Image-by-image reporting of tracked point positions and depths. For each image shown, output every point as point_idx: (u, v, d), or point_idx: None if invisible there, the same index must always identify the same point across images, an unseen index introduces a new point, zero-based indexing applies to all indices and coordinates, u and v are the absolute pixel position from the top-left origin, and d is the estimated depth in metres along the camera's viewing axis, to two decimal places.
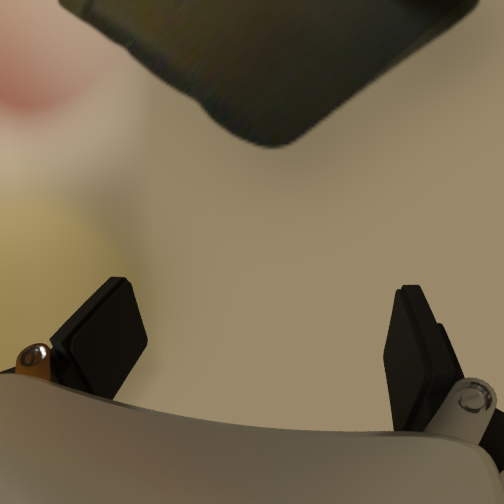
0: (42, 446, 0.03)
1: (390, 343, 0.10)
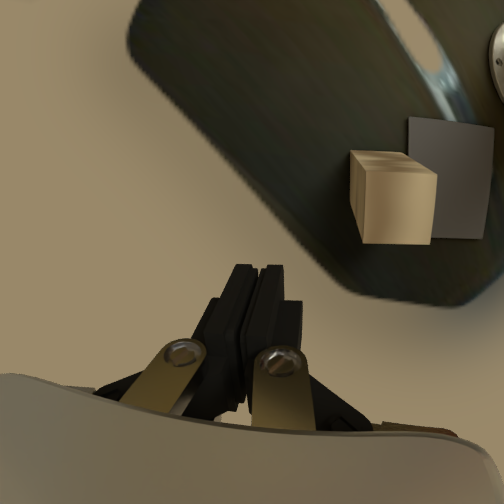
0: (42, 446, 0.03)
1: None
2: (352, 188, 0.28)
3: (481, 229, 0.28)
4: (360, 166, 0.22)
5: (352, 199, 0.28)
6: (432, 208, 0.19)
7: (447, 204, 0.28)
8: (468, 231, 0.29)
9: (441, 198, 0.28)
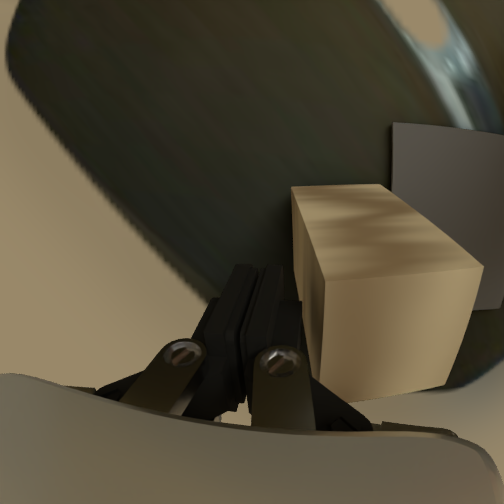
0: (42, 446, 0.03)
1: None
2: (296, 257, 0.16)
3: (500, 296, 0.18)
4: (310, 245, 0.11)
5: (297, 276, 0.17)
6: (462, 330, 0.09)
7: None
8: (480, 300, 0.18)
9: None
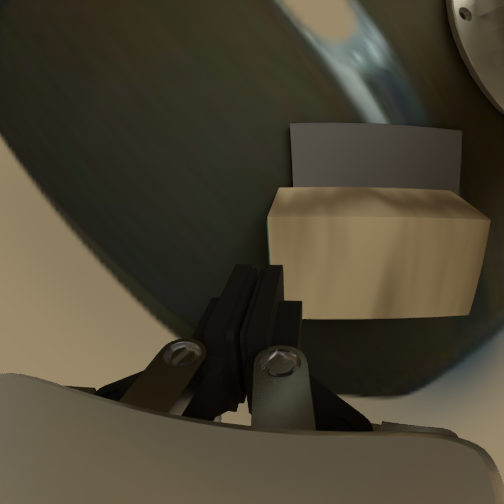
0: (42, 446, 0.03)
1: None
2: (319, 285, 0.14)
3: None
4: (439, 222, 0.12)
5: (324, 303, 0.14)
6: None
7: None
8: None
9: None
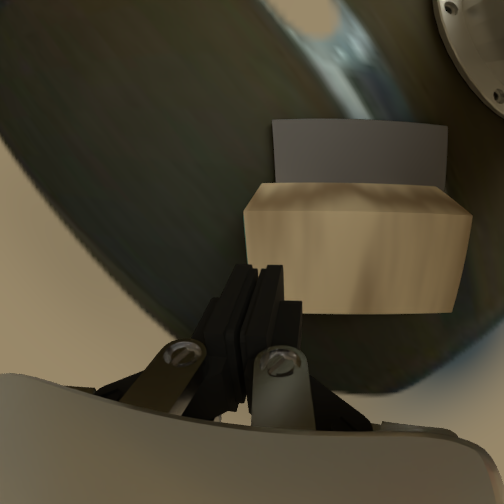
0: (42, 446, 0.03)
1: None
2: (296, 279, 0.14)
3: None
4: (417, 217, 0.12)
5: (301, 297, 0.15)
6: None
7: None
8: None
9: None
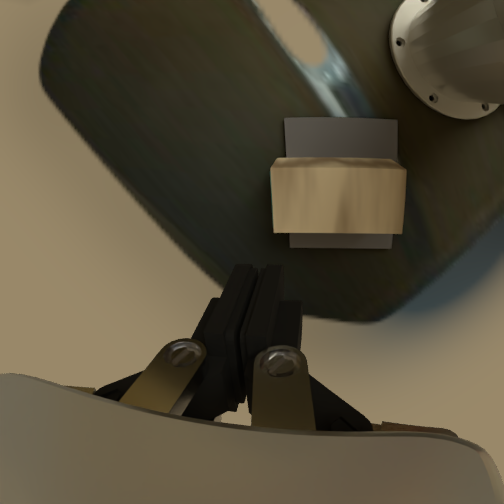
0: (42, 446, 0.03)
1: None
2: (301, 209, 0.24)
3: (389, 238, 0.29)
4: (371, 171, 0.22)
5: (304, 221, 0.24)
6: None
7: None
8: (370, 240, 0.29)
9: None
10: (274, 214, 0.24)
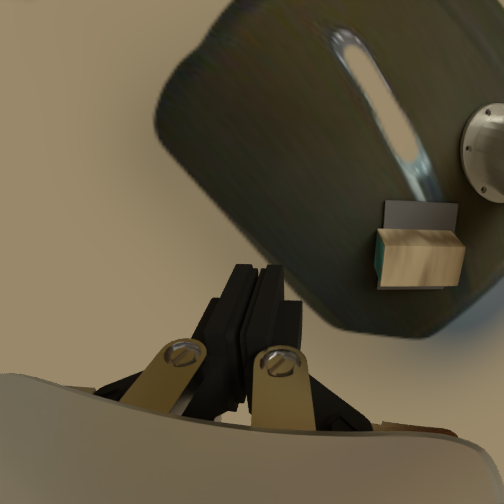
0: (42, 446, 0.03)
1: None
2: (400, 272, 0.33)
3: None
4: (445, 248, 0.31)
5: (401, 279, 0.34)
6: None
7: None
8: None
9: None
10: (383, 275, 0.34)
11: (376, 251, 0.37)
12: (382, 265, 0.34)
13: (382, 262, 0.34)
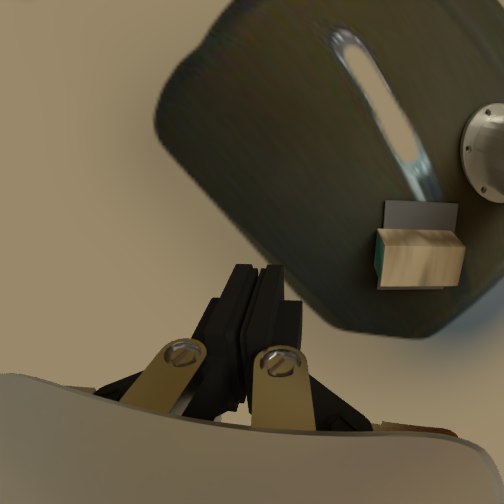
0: (42, 446, 0.03)
1: None
2: (400, 272, 0.33)
3: None
4: (445, 248, 0.31)
5: (401, 279, 0.34)
6: None
7: None
8: None
9: None
10: (382, 275, 0.34)
11: (376, 251, 0.37)
12: (382, 265, 0.34)
13: (382, 262, 0.34)
